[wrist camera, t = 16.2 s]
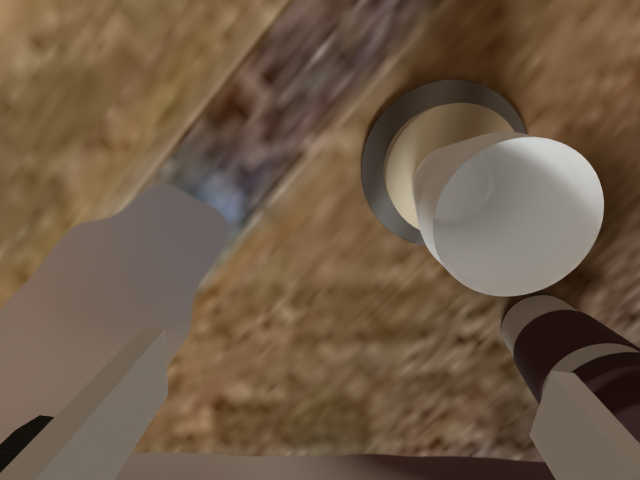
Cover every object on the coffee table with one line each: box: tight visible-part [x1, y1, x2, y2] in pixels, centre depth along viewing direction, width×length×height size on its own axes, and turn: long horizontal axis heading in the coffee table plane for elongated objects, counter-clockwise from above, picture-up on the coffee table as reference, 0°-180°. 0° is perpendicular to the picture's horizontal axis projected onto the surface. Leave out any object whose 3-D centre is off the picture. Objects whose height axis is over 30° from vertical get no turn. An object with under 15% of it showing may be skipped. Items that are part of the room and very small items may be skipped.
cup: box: [412, 132, 604, 296], centre depth 25 cm, size 9×9×12 cm
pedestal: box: [361, 80, 526, 246], centre depth 32 cm, size 15×15×4 cm
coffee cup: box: [502, 295, 640, 443], centre depth 31 cm, size 10×10×15 cm
